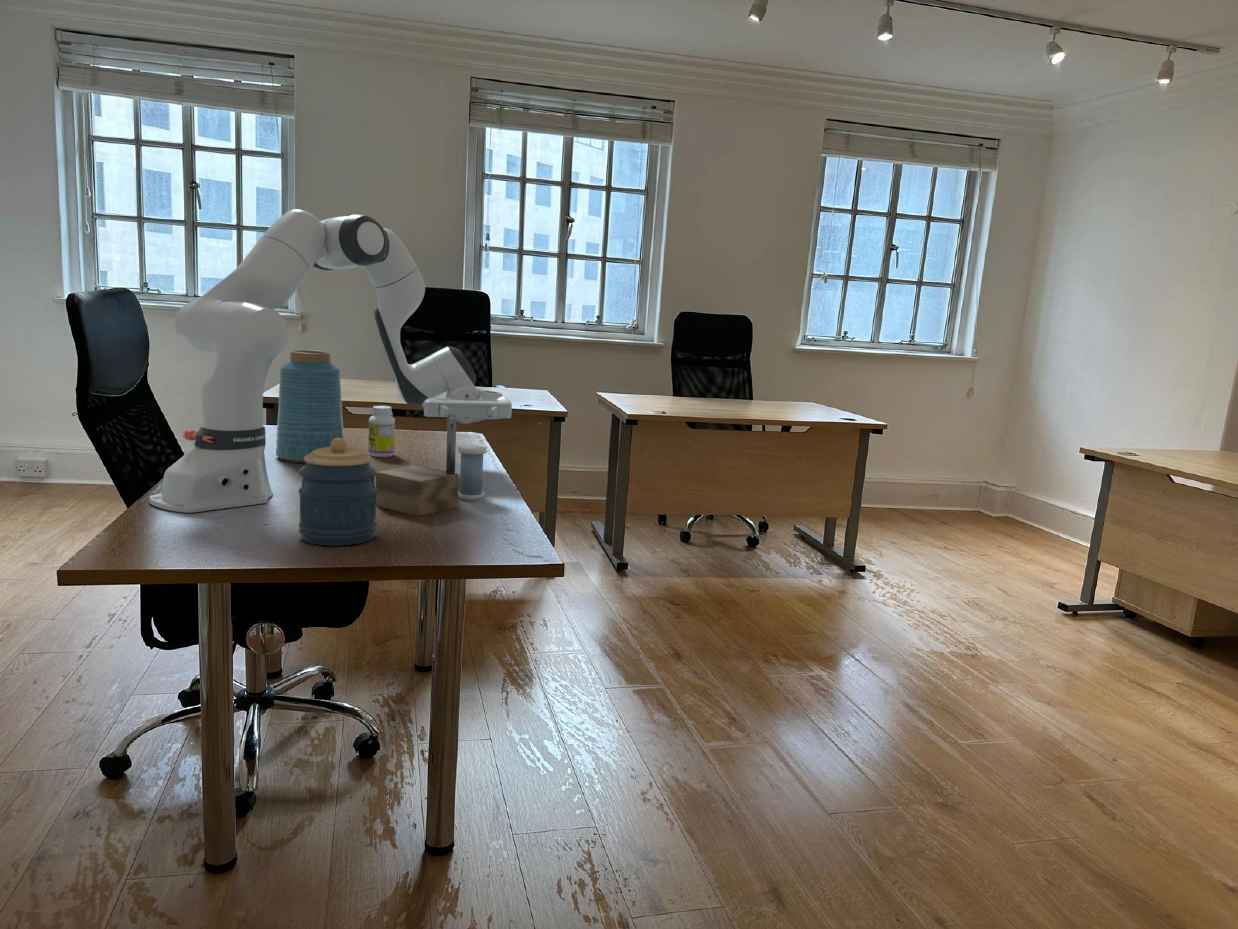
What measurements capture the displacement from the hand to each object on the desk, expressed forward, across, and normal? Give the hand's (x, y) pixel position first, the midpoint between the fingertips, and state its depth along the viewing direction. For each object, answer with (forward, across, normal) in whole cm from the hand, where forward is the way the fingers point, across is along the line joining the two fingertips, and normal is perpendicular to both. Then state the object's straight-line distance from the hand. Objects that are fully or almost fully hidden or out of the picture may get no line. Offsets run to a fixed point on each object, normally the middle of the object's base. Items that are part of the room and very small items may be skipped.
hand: (470, 413), depth 191 cm
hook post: (+22, -5, +9) cm, 25 cm away
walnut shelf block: (+20, -12, +16) cm, 28 cm away
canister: (+41, -26, +16) cm, 51 cm away
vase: (-30, -37, +17) cm, 50 cm away
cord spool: (+12, 0, +17) cm, 20 cm away
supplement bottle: (-35, -20, +17) cm, 44 cm away
